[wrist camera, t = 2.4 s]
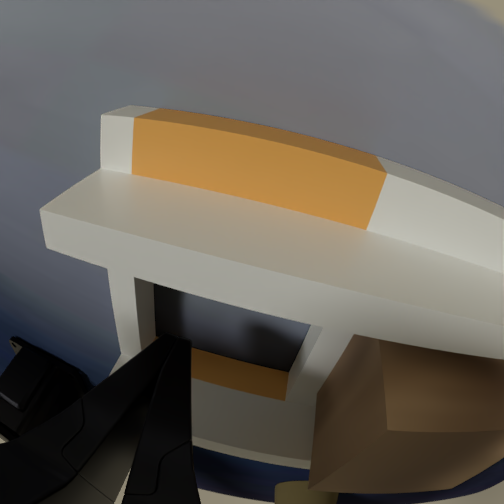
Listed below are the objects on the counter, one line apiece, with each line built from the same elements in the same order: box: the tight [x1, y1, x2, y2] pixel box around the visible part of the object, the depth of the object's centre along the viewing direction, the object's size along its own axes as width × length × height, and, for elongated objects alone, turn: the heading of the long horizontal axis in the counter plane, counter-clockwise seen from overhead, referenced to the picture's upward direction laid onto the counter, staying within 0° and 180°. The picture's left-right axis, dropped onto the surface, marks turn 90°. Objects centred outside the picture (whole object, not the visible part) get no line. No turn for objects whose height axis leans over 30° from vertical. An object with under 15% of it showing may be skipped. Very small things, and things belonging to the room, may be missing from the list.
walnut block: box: [308, 334, 504, 493], centre depth 8 cm, size 6×5×4 cm
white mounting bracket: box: [40, 105, 504, 469], centre depth 9 cm, size 22×12×4 cm, turn 80°
